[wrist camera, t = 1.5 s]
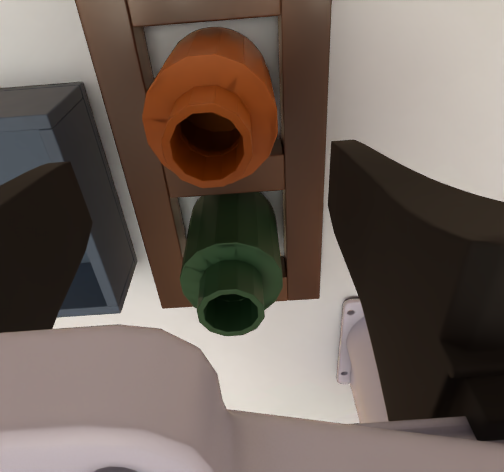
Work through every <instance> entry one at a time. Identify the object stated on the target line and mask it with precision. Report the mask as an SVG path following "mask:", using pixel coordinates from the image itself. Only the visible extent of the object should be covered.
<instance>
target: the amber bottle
mask: <svg viewBox="0 0 504 472" xmlns="http://www.w3.org/2000/svg"><path fill="white" fill-rule="evenodd" d="M142 121H143V125H144V130H145V134H146V138H147V142H148V145H149V146H150V147H151V149H152V150H153V152H154V153H155V155H156V156H157V157H158V159H159V160H160V162H161V163H162V164H163V165H164V166H165V167H167V168H168V169H169V170H171V171H172V172H174V173H175V174H176V175H177V176H178V177H179V178H180V179H181V180H183V181H185V182H188V183H190V184H193V185H195V186H198V187H200V188H212V187H224V186H226V185H228V184H230V183H231V184H232V183H234V182H236V181H238V180H240V179H242V178H245V177H247V176H249V175H251V174H253V173H254V172H255V171H256V170H257V169H258V168H259V167H260V166H261V164H262V163H263V162H264V161H265V160H266V159H267V158H268V157H269V155H270V153H271V150H272V148H273V145H274V142H275V140H276V137H277V135H278V121H277V106H276V102H275V97H274V92H273V88H272V83H271V79H270V74H269V70H268V68H267V66H266V63H265V61H264V58H263V57H262V55H261V53H260V51H259V50H258V49H257V47H256V46H255V45H254V44H253V43H252V42H251V41H250V40H249V39H247V38H246V37H245V36H243V35H241V34H240V33H238V32H236V31H233V30H230V29H227V28H221V27H209V28H203V29H200V30H197V31H195V32H192V33H190V34H189V35H187V36H186V37H184V38H183V39H182V40H180V41H179V43H178V44H177V45H176V47H175V48H174V50H173V51H172V52H171V54H170V55H169V57H168V58H167V60H166V61H165V63H164V65H163V66H162V68H161V70H160V71H159V73H158V74H157V76H156V78H155V79H154V81H153V83H152V84H151V86H150V87H149V89H148V91H147V93H146V98H145V103H144V109H143V114H142Z"/></svg>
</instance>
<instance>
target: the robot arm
mask: <svg viewBox="0 0 504 472" xmlns="http://www.w3.org/2000/svg"><path fill="white" fill-rule="evenodd" d="M328 208H329V212H330V217H331V222H332V226H333V230H334V234H335V236H336V239H337V242H338V244H339V247H340V249H341V252H342V255H343V257H344V260H345V262H346V265H347V267H348V270H349V272H350V275H351V278H352V280H353V283H354V285H355V288H356V290H357V293H358V296H359V299H348V300H346V301H345V302H344V304H343V312H342V323H341V334H340V345H339V356H338V367H337V382H338V383H340V384H350V385H351V389H352V393H353V397H354V401H355V405H356V409H357V413H358V417H359V421H360V423H357V424H341V423H333V422H325V421H317V420H309V419H301V418H293V417H285V416H277V415H269V414H261V413H253V412H245V411H237V410H229V409H226V407H225V405H224V402H223V400H222V395H221V390H220V385H219V380H218V375H217V373H216V371H215V370H214V368H213V367H212V366H211V364H210V363H209V361H208V360H207V358H206V357H205V355H204V354H203V352H202V351H201V349H199V348H198V347H196V346H195V345H193V344H191V343H189V342H187V341H184V340H182V339H180V338H178V337H176V336H174V335H172V334H170V333H168V332H166V331H164V330H162V329H158V328H148V327H138V326H128V325H118V324H117V325H103V326H89V327H75V328H61V329H52V328H53V325H54V323H55V320H56V318H57V315H58V312H59V310H60V308H61V306H62V304H63V301H64V299H65V297H66V295H67V292H68V290H69V288H70V286H71V284H72V281H73V279H74V277H75V275H76V272H77V270H78V268H79V265H80V263H81V261H82V259H83V256H84V254H85V251H86V248H87V244H88V241H89V237H90V233H91V228H92V224H93V221H92V219H91V216H90V213H89V211H88V208H87V205H86V202H85V200H84V197H83V194H82V192H81V189H80V186H79V184H78V181H77V178H76V175H75V173H74V170H73V167H72V165H71V162H70V161H68V162H55V163H47V164H44V165H41V166H38V167H36V168H34V169H32V170H29V171H27V172H25V173H23V174H21V175H19V176H17V177H16V178H14V179H12V180H10V181H8V182H6V183H4V184H2V185H0V472H504V202H501V201H497V200H493V199H489V198H486V197H482V196H478V195H475V194H472V193H468V192H465V191H462V190H459V189H457V188H454V187H451V186H448V185H446V184H443V183H440V182H438V181H435V180H433V179H430V178H428V177H426V176H424V175H422V174H419V173H417V172H415V171H413V170H411V169H409V168H407V167H405V166H403V165H401V164H399V163H397V162H395V161H394V160H392V159H390V158H388V157H386V156H384V155H383V154H381V153H379V152H377V151H376V150H374V149H372V148H370V147H368V146H367V145H365V144H363V143H361V142H359V141H356V140H343V141H331V157H330V175H329V194H328ZM350 310H352V311H350Z"/></svg>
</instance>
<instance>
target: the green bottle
mask: <svg viewBox="0 0 504 472" xmlns="http://www.w3.org/2000/svg"><path fill="white" fill-rule="evenodd" d="M180 283H181V288H182V292H183V295H184V296H185V297H186V298H187V299H188V301H189V302H190V303H191V304H192V305H193V306H194V307H195V308H197V313H198V318H199V322H200V323H201V324H202V325H203V326H204V327H206V328H207V329H208V330H209V331H210V332H213V333H217V334H220V335H223V336H237V335H244V334H246V333H248V332H250V331H252V330H255V329H256V328H257V327H258V326H259V325H260V323H261V322H262V320H263V319H264V317H265V315H264V310H265V309H267V308H268V307H269V306H270V305H272V304H273V303H274V302H275V301H276V300H277V298H278V296H279V294H280V292H281V290H282V288H283V276H282V266H281V258H280V250H279V242H278V234H277V226H276V218H275V214H274V211H273V208H272V206H271V204H270V203H269V201H268V200H267V199H266V198H265V197H264V196H263V195H262V194H261V193H259V192H247V193H233V194H219V195H205V196H201V197H200V198H199V200H198V201H197V202H196V204H195V206H194V208H193V211H192V216H191V219H190V223H189V229H188V235H187V240H186V246H185V251H184V257H183V263H182V268H181V274H180Z"/></svg>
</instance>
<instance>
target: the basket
mask: <svg viewBox="0 0 504 472" xmlns="http://www.w3.org/2000/svg"><path fill="white" fill-rule="evenodd" d="M68 161H70V162H71V165H72V167H73V170H74V173H75V175H76V178H77V181H78V184H79V186H80V189H81V192H82V194H83V197H84V200H85V202H86V205H87V208H88V211H89V213H90V216H91V219H92V221H93V224H92V228H91V233H90V237H89V241H88V244H87V248H86V251H85V254H84V256H83V259H82V261H81V263H80V265H79V268H78V270H77V272H76V275H75V277H74V279H73V281H72V284H71V286H70V288H69V290H68V292H67V295H66V297H65V299H64V301H63V304H62V306H61V308H60V310H59V312H58V315H57V317H70V316H85V315H101V314H116V313H121V311H122V307H123V304H124V301H125V298H126V295H127V292H128V289H129V286H130V283H131V279H132V276H133V273H134V270H135V267H136V264H137V259H136V256H135V252H134V249H133V246H132V242H131V239H130V236H129V233H128V229H127V226H126V223H125V220H124V216H123V213H122V210H121V206H120V203H119V200H118V197H117V193H116V190H115V187H114V184H113V180H112V177H111V174H110V171H109V167H108V164H107V161H106V157H105V154H104V151H103V148H102V144H101V141H100V138H99V135H98V131H97V128H96V125H95V121H94V118H93V115H92V112H91V108H90V105H89V102H88V99H87V95H86V92H85V89H84V85H83V83H82V82H77V83H65V84H52V85H39V86H26V87H13V88H1V89H0V185H2V184H4V183H6V182H8V181H10V180H12V179H14V178H16V177H17V176H19V175H21V174H23V173H25V172H27V171H29V170H32V169H34V168H36V167H38V166H41V165H44V164H47V163H55V162H68Z"/></svg>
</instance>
